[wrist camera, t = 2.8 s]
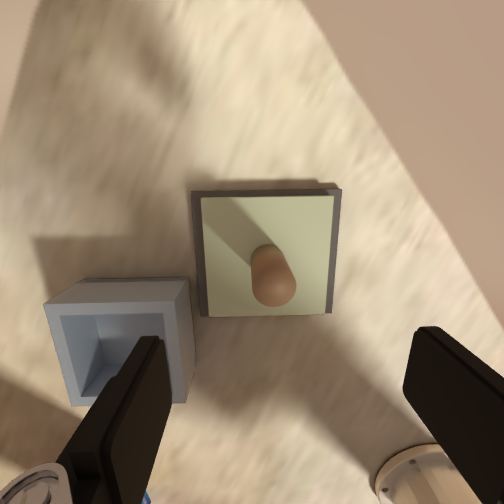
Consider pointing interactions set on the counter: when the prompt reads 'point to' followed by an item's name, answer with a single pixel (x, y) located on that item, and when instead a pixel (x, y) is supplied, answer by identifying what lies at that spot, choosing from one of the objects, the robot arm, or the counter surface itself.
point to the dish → (120, 331)
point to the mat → (198, 195)
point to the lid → (267, 254)
